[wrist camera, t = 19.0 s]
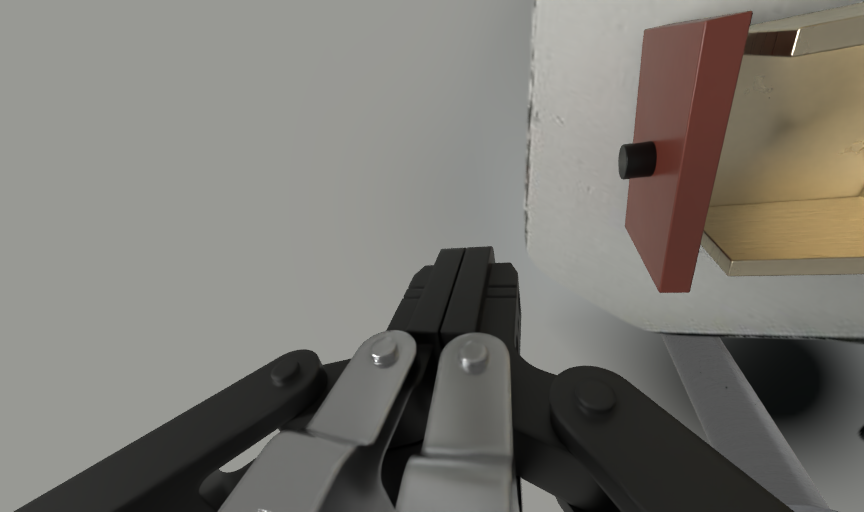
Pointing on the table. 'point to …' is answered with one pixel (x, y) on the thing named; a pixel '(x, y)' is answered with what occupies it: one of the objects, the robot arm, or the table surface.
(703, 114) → the cabinet drawer
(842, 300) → the table surface
